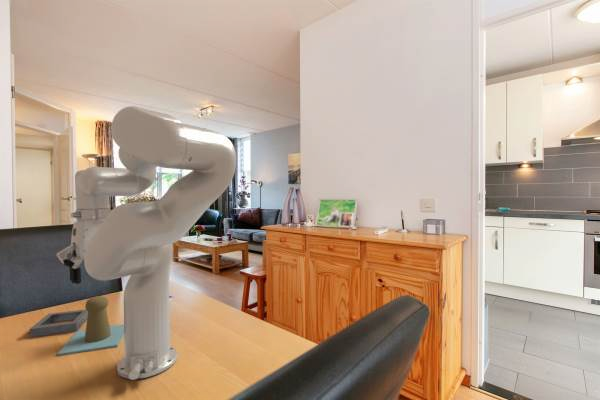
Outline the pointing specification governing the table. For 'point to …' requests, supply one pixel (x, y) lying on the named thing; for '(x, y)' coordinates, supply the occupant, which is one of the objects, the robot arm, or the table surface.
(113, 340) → the rubber mat
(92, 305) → the cork
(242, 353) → the table surface
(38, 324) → the square socket
